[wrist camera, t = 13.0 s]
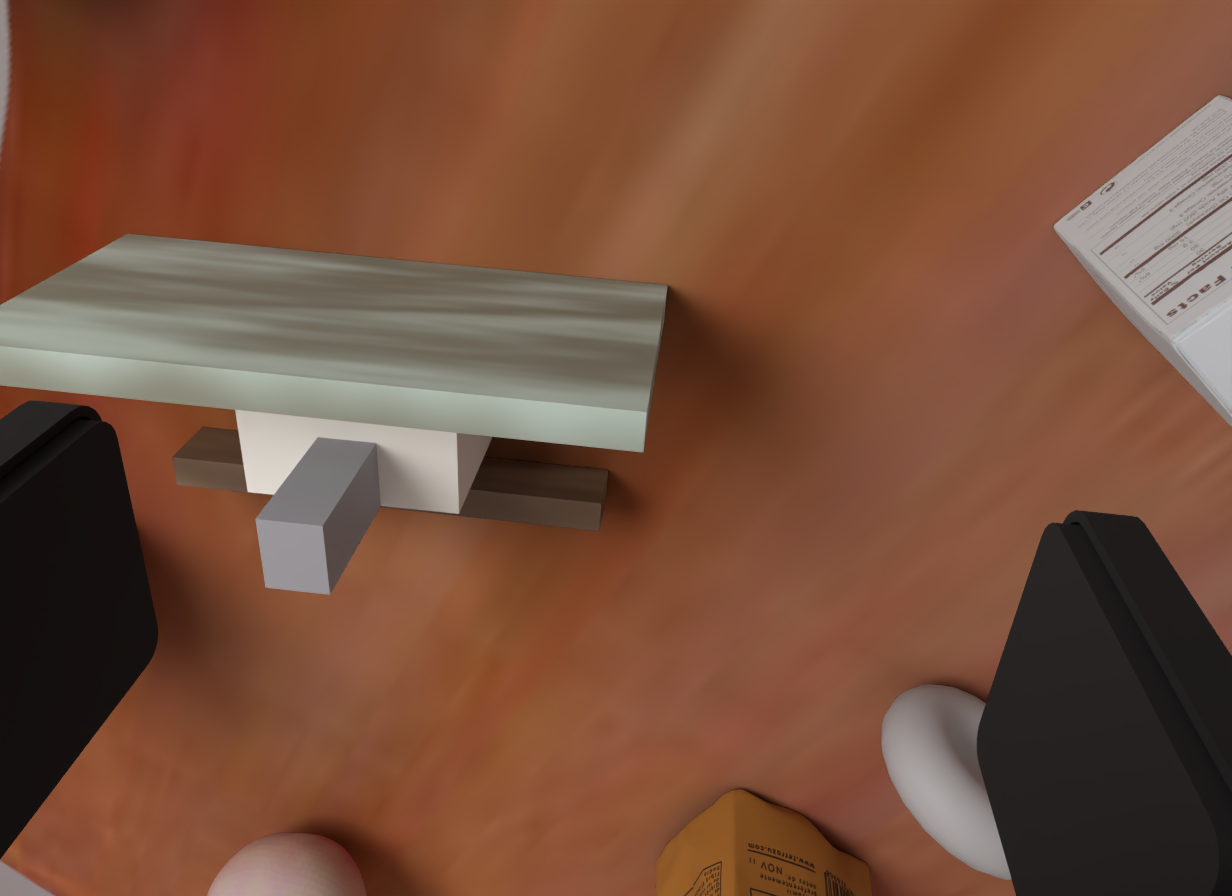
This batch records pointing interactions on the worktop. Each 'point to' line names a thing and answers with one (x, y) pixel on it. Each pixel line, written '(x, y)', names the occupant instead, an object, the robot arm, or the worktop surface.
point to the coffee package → (756, 855)
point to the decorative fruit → (290, 868)
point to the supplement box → (1170, 248)
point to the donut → (943, 772)
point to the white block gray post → (343, 486)
